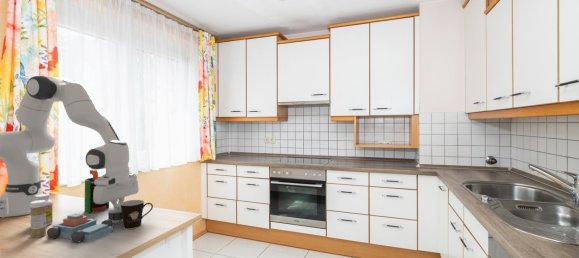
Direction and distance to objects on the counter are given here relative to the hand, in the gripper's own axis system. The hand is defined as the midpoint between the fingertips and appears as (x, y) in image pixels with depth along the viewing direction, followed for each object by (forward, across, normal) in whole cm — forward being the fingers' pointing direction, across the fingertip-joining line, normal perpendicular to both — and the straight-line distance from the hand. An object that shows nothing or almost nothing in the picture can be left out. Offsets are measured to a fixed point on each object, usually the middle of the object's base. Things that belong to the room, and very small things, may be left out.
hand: (117, 208), depth 123 cm
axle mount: (+6, 0, 0) cm, 6 cm away
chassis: (+6, +14, -3) cm, 16 cm away
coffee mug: (+6, +1, +11) cm, 13 cm away
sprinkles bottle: (+6, +20, -16) cm, 27 cm away
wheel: (+4, 0, 0) cm, 4 cm away
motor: (+6, -10, -24) cm, 27 cm away
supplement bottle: (+6, +12, -27) cm, 30 cm away
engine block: (+4, +14, -6) cm, 16 cm away
